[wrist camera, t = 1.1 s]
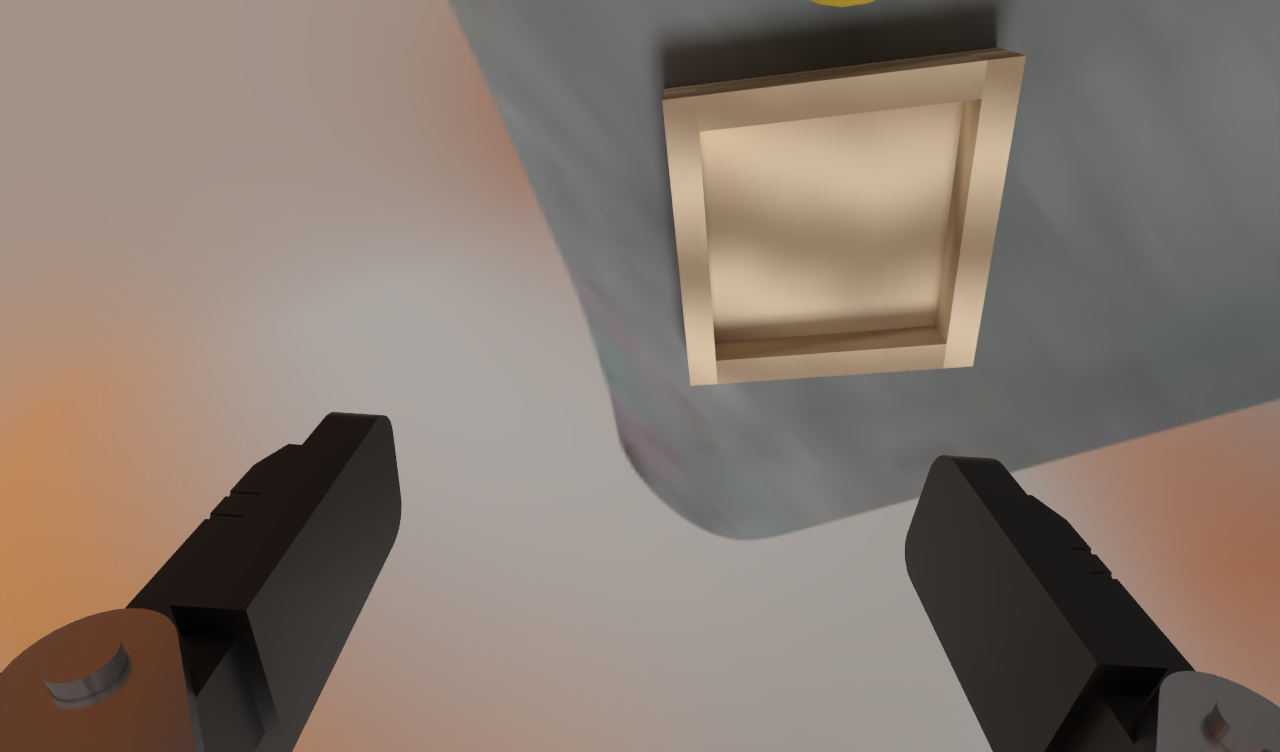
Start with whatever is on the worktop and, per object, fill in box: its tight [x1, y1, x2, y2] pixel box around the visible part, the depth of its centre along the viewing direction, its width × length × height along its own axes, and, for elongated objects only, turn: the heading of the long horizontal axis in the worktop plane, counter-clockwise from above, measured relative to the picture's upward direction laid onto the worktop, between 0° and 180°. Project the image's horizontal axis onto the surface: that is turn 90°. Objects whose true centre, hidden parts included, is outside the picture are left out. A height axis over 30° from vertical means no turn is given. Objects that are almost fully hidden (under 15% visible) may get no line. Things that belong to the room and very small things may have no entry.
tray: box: [662, 48, 1026, 386], centre depth 26 cm, size 12×12×2 cm
